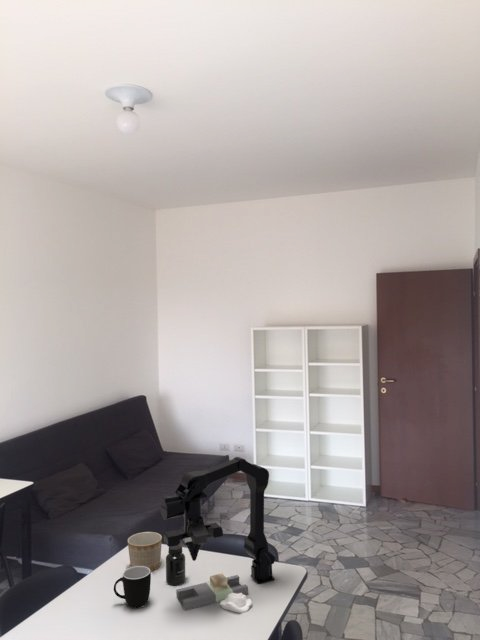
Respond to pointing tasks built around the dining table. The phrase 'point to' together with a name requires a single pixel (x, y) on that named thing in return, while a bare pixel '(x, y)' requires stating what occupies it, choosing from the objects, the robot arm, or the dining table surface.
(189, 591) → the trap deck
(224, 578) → the birch block
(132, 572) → the mug
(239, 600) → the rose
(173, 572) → the supplement bottle
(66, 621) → the dining table surface
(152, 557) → the planter
